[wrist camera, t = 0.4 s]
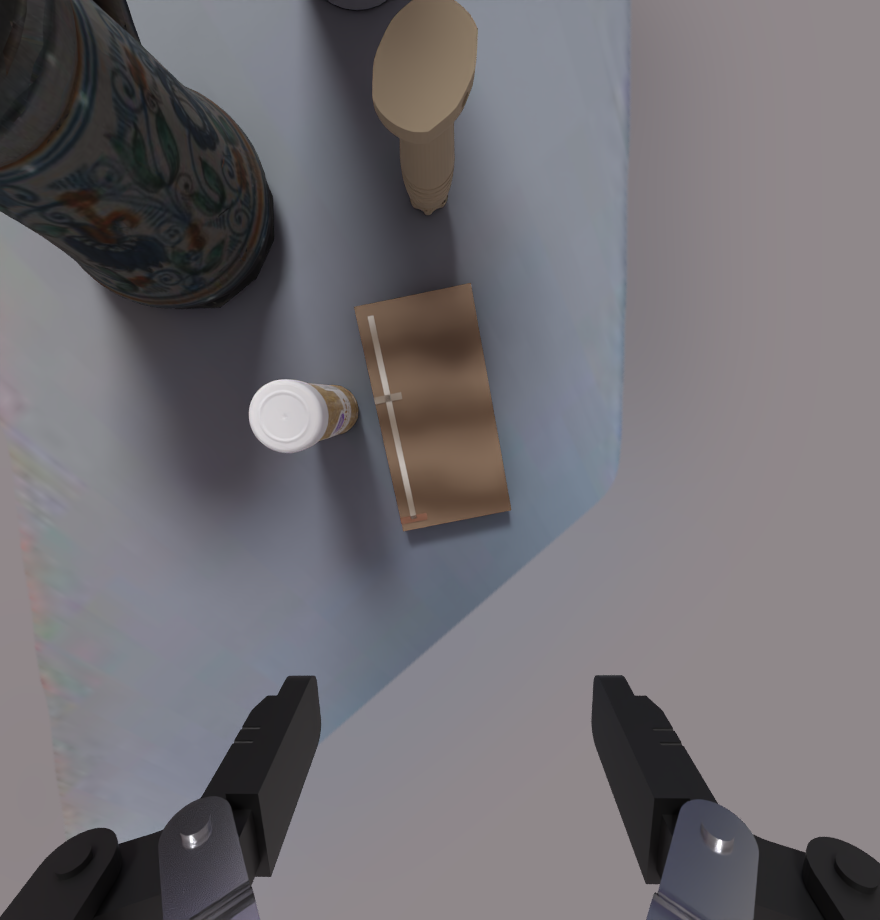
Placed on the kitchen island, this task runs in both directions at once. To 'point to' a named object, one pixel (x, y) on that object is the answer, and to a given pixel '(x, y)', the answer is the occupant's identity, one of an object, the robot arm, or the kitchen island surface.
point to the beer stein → (125, 159)
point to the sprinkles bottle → (300, 414)
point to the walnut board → (434, 406)
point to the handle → (425, 91)
